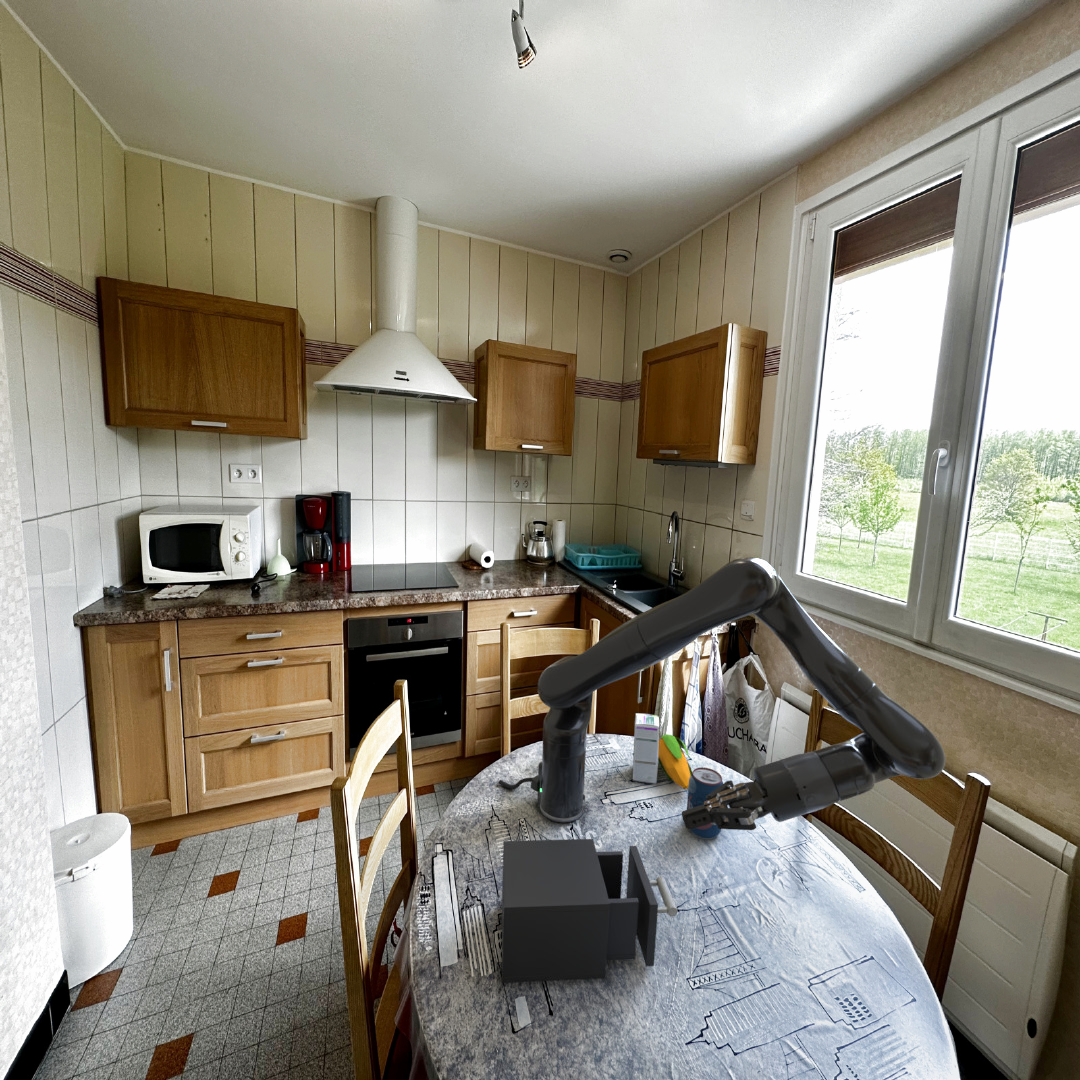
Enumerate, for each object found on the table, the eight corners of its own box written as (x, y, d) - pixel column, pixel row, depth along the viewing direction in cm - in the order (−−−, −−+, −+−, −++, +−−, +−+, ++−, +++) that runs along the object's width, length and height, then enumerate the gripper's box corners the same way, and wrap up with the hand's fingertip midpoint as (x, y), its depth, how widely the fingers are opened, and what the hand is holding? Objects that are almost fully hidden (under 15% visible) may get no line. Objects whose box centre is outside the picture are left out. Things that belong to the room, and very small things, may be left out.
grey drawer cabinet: (589, 903, 84) (593, 838, 83) (605, 978, 72) (609, 903, 70) (501, 906, 83) (503, 840, 82) (501, 983, 70) (504, 907, 69)
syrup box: (656, 784, 118) (660, 726, 116) (631, 780, 119) (635, 723, 118) (656, 770, 124) (660, 715, 122) (632, 767, 125) (635, 712, 123)
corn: (679, 725, 131) (705, 769, 111) (679, 752, 132) (705, 801, 112) (651, 726, 131) (671, 770, 111) (651, 753, 132) (672, 802, 112)
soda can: (683, 835, 101) (687, 780, 100) (687, 814, 108) (691, 762, 106) (720, 845, 99) (724, 789, 97) (721, 824, 105) (725, 770, 104)
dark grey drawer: (657, 898, 85) (660, 844, 83) (681, 964, 73) (686, 903, 72) (552, 902, 83) (554, 847, 82) (561, 970, 72) (563, 908, 70)
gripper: (771, 747, 82) (670, 781, 84) (799, 775, 69) (678, 814, 71) (791, 794, 80) (687, 826, 82) (823, 831, 68) (700, 869, 69)
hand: (684, 821), depth 76 cm, fingers closed
